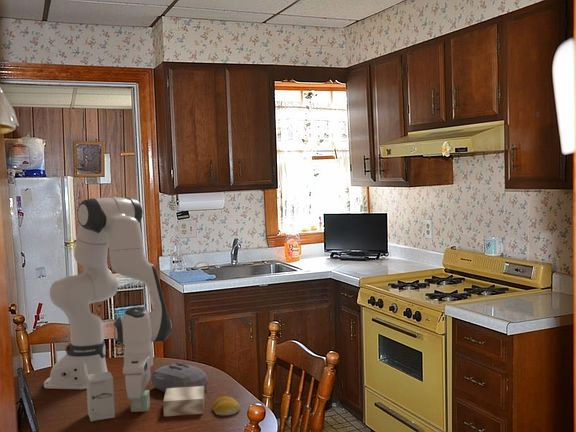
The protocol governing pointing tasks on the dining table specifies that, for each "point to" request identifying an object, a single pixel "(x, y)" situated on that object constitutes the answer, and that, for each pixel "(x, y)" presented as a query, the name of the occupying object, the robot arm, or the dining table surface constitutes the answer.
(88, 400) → the supplement box
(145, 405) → the sage cube
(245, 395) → the dining table surface
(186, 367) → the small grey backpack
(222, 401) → the bread roll
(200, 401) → the wooden block
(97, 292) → the robot arm
